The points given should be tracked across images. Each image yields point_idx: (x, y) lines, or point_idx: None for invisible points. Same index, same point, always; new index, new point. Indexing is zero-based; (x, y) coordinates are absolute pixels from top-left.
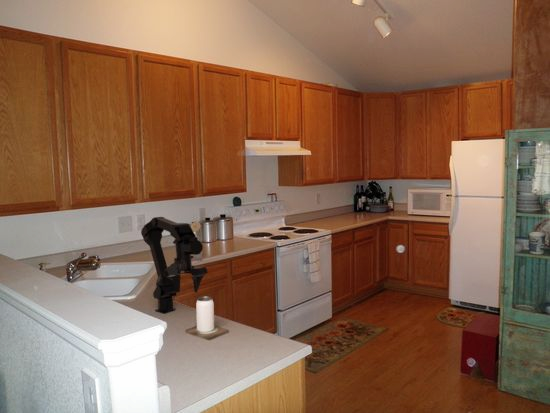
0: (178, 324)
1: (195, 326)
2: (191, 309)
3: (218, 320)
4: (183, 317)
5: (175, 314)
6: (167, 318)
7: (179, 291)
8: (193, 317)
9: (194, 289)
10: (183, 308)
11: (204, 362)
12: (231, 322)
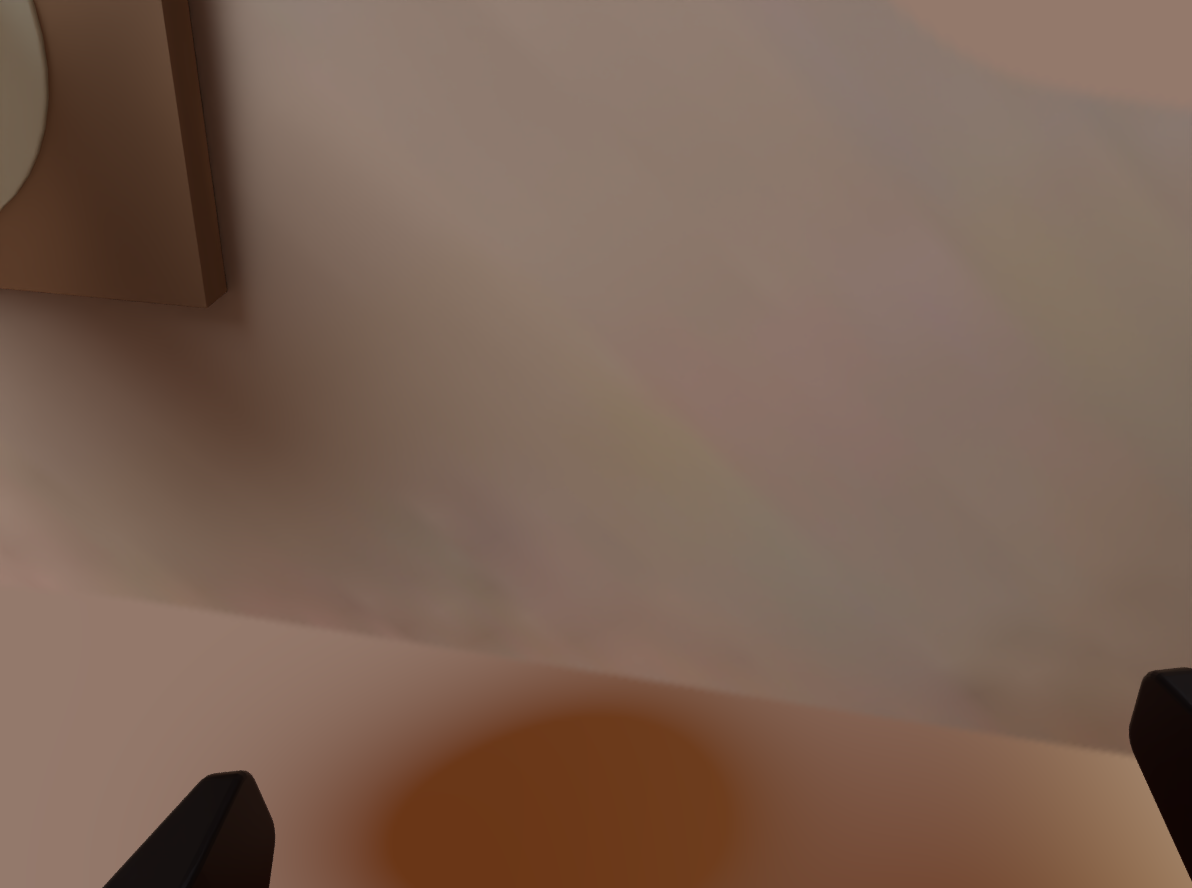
0: (682, 31)
1: (151, 30)
2: (1001, 715)
3: (250, 550)
4: (872, 388)
5: (1132, 433)
6: (1161, 183)
7: (1137, 751)
8: (701, 471)
9: (168, 875)
10: None
11: None
12: (36, 572)
